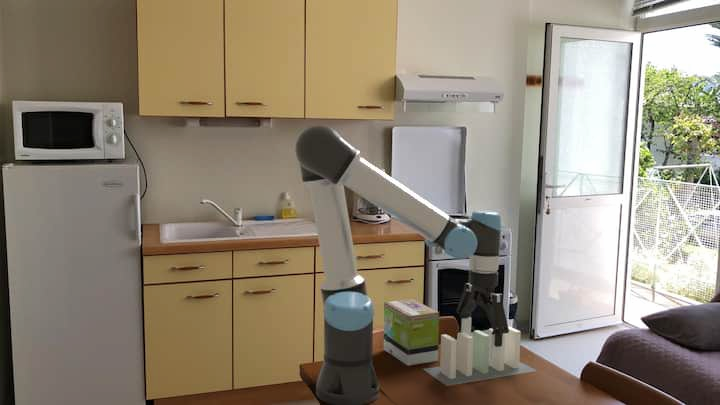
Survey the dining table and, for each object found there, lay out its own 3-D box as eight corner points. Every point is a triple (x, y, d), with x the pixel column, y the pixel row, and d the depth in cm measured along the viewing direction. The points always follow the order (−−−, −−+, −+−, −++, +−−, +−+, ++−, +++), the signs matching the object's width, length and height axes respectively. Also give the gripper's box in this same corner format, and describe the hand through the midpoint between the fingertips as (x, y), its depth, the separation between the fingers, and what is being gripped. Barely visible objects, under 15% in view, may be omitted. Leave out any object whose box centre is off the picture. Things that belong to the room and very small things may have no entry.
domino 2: (466, 376, 154) (468, 338, 153) (456, 369, 159) (457, 332, 158) (472, 375, 155) (473, 337, 154) (461, 368, 159) (462, 332, 158)
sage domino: (483, 373, 156) (484, 336, 155) (472, 367, 161) (473, 330, 160) (488, 372, 157) (489, 335, 156) (477, 366, 161) (478, 330, 160)
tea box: (382, 350, 174) (383, 301, 173) (412, 346, 178) (413, 297, 177) (407, 368, 160) (408, 314, 159) (439, 363, 165) (440, 310, 163)
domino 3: (498, 371, 158) (500, 334, 157) (487, 364, 162) (489, 328, 162) (503, 370, 159) (505, 333, 158) (492, 363, 163) (494, 328, 162)
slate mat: (446, 388, 148) (446, 385, 148) (422, 371, 159) (422, 368, 158) (537, 373, 159) (537, 370, 159) (509, 357, 170) (509, 355, 170)
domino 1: (450, 378, 152) (451, 340, 151) (440, 372, 157) (441, 334, 156) (455, 378, 153) (456, 340, 152) (445, 371, 157) (446, 334, 156)
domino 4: (514, 368, 160) (515, 332, 159) (502, 362, 164) (504, 326, 163) (519, 367, 161) (520, 331, 160) (507, 361, 165) (509, 326, 164)
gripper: (526, 279, 146) (521, 363, 148) (469, 260, 169) (465, 333, 171) (501, 281, 143) (496, 367, 145) (446, 261, 166) (442, 336, 168)
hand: (479, 349), depth 158 cm, fingers open, 13 cm apart
